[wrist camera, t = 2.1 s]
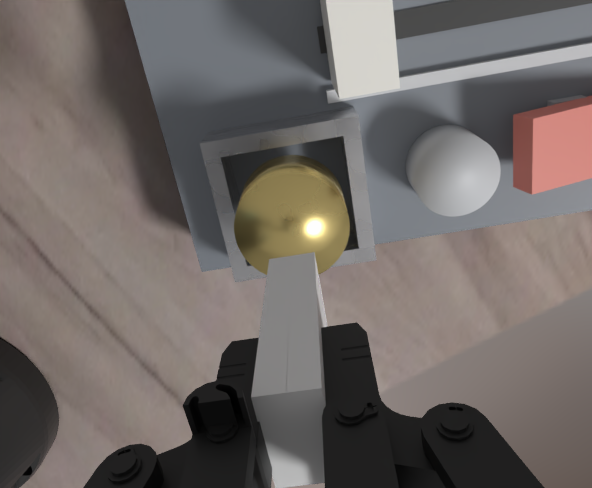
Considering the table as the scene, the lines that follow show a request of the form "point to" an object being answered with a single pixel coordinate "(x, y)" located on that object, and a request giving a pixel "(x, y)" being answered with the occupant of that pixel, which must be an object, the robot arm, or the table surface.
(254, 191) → the brass button
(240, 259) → the button housing
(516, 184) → the block
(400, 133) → the panel
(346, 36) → the off-white rectangular prism
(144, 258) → the table surface
